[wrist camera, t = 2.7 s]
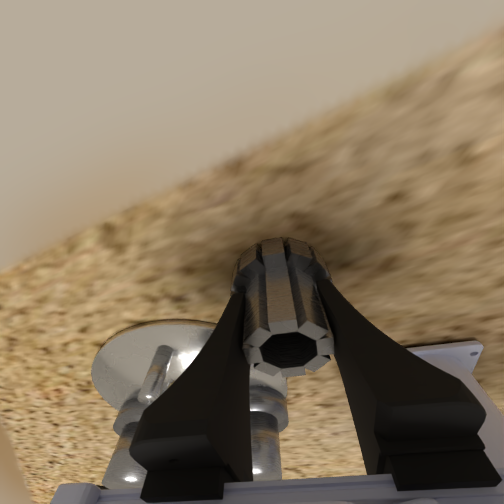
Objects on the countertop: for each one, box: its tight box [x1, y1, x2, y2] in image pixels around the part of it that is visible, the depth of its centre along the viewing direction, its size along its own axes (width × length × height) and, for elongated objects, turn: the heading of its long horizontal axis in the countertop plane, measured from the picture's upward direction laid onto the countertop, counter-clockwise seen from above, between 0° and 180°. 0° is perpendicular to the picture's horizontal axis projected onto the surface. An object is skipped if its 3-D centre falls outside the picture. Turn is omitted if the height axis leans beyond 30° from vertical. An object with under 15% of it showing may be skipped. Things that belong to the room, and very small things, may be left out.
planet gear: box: [231, 237, 334, 378], centre depth 13 cm, size 6×6×5 cm
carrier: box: [91, 320, 289, 489], centre depth 19 cm, size 16×16×6 cm
